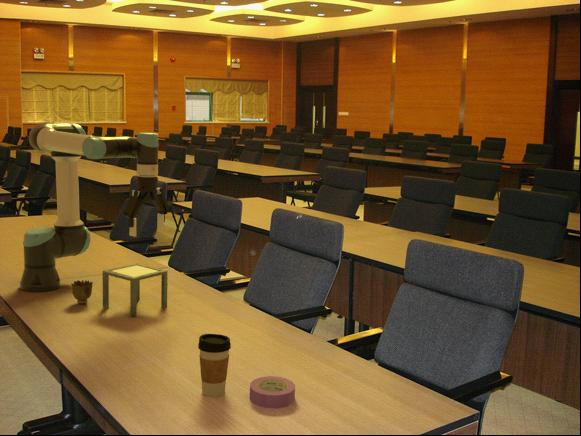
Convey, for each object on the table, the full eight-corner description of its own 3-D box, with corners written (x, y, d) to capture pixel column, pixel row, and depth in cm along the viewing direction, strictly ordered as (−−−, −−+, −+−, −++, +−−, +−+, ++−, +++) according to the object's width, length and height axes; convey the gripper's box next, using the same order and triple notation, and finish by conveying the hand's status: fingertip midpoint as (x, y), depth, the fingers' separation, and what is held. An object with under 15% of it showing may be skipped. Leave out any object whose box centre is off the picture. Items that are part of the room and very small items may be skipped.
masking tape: (296, 409, 170) (297, 394, 170) (250, 408, 169) (250, 394, 169) (292, 389, 182) (293, 376, 181) (249, 389, 181) (249, 375, 180)
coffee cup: (198, 385, 182) (199, 331, 179) (229, 385, 182) (231, 332, 180) (196, 398, 173) (197, 342, 171) (229, 398, 174) (231, 343, 172)
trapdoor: (111, 273, 243) (111, 270, 243) (136, 267, 253) (136, 265, 253) (133, 279, 237) (133, 277, 236) (159, 273, 246) (159, 271, 246)
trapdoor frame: (102, 308, 245) (102, 270, 243) (136, 299, 258) (137, 263, 256) (133, 317, 236) (133, 278, 234) (167, 307, 249) (167, 270, 247)
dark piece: (86, 307, 246) (86, 285, 245) (67, 305, 247) (67, 284, 246) (96, 301, 253) (96, 280, 252) (78, 299, 254) (77, 279, 253)
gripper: (128, 179, 232) (127, 239, 236) (179, 174, 253) (178, 230, 256) (113, 177, 237) (113, 236, 240) (164, 172, 257) (164, 228, 260)
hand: (147, 233), depth 248 cm, fingers open, 13 cm apart
